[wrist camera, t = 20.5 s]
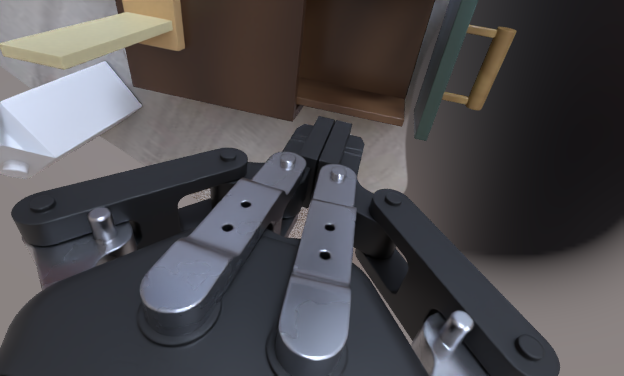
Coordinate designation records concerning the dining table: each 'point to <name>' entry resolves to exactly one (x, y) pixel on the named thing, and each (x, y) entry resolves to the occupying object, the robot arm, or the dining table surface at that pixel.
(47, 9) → the dining table surface
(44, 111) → the milk carton
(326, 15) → the drawer
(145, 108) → the dining table surface
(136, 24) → the beige upright flat slab
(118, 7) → the cabinet
